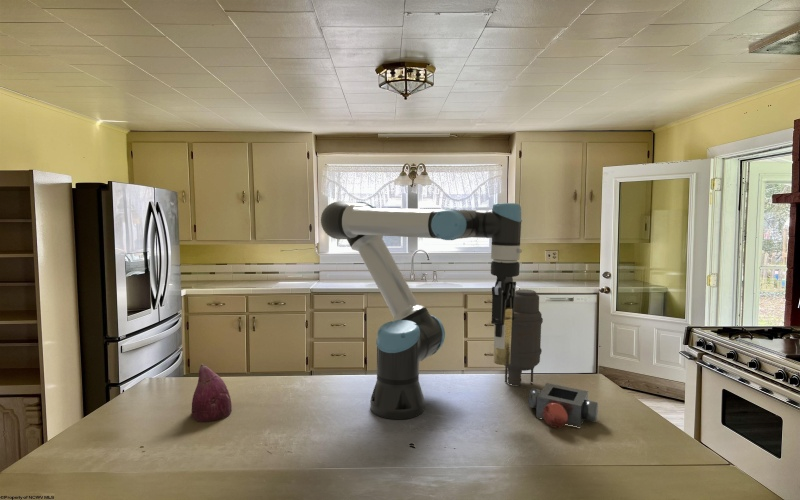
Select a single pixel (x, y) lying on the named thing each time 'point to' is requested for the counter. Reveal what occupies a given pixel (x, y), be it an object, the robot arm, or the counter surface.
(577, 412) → the valve body
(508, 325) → the fitting
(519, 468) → the counter surface
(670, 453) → the counter surface
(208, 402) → the vegetable
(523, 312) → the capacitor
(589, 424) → the counter surface
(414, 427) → the counter surface
